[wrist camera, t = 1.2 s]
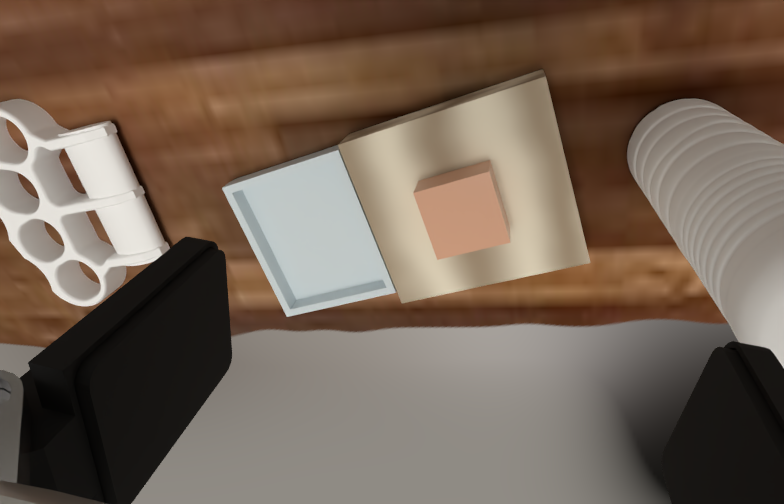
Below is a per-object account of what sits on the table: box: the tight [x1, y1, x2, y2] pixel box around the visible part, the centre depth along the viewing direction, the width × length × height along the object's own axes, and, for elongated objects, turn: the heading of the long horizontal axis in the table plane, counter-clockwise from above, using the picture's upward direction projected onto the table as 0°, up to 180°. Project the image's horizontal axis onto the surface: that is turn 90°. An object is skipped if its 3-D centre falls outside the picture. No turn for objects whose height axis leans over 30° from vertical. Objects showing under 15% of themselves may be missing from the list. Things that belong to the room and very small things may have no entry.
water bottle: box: [627, 98, 784, 368], centre depth 24 cm, size 9×6×25 cm
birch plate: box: [338, 69, 590, 303], centre depth 38 cm, size 14×13×3 cm
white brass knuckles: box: [0, 99, 170, 306], centre depth 45 cm, size 3×18×15 cm
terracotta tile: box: [413, 160, 511, 260], centre depth 35 cm, size 5×5×2 cm
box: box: [222, 145, 397, 317], centre depth 42 cm, size 10×12×2 cm
